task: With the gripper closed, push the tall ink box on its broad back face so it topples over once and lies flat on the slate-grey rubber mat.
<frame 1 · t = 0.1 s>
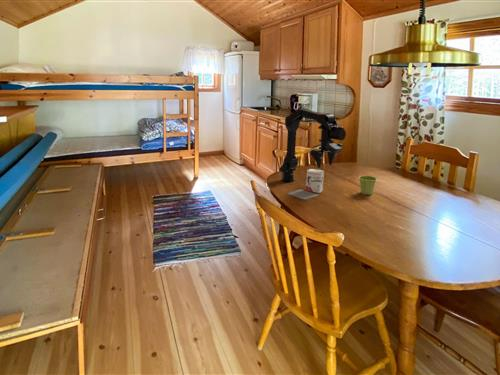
hand: (324, 166, 199), 14 cm above the table, tool pointing down, fingers open, 9 cm apart
ink box: (313, 191, 204), on the table, touching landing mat
plant pot: (366, 193, 200), on the table
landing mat: (302, 194, 199), on the table
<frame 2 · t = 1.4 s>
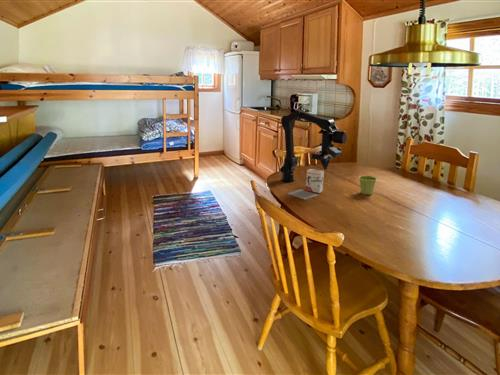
hand: (325, 169, 206), 11 cm above the table, tool pointing down, fingers closed
nothing on the table moved.
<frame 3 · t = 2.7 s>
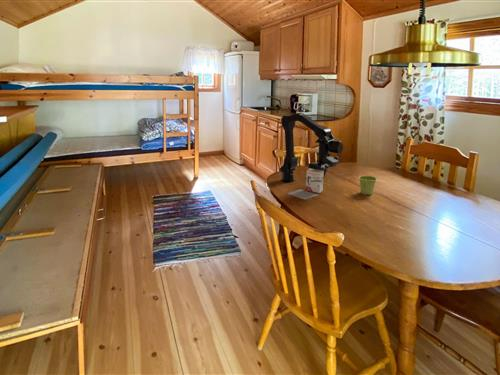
hand: (322, 178, 206), 6 cm above the table, tool pointing down, fingers closed
ink box: (313, 191, 204), on the table, touching gripper, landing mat
everything else where it was.
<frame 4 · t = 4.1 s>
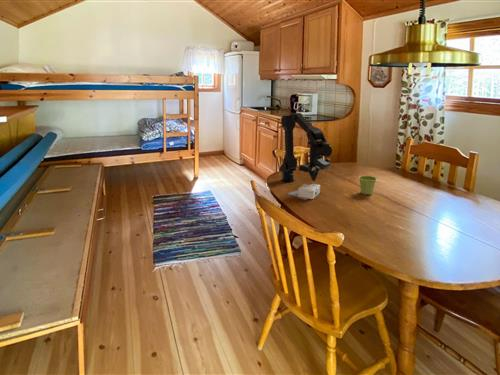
hand: (313, 181, 202), 6 cm above the table, tool pointing down, fingers closed
ink box: (312, 187, 202), point 3 cm above the table, touching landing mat
everything else where it was.
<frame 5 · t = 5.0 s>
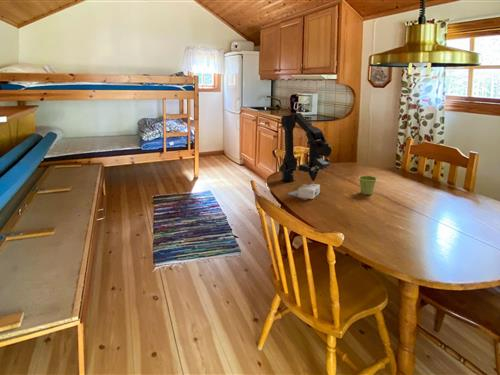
hand: (313, 180, 202), 6 cm above the table, tool pointing down, fingers closed
nothing on the table moved.
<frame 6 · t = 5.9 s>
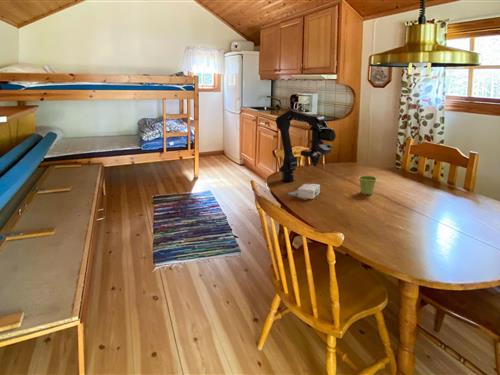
hand: (315, 166, 206), 13 cm above the table, tool pointing down, fingers closed
nothing on the table moved.
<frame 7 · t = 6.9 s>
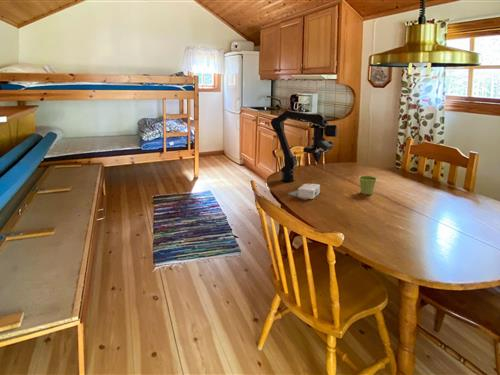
hand: (317, 162, 213), 13 cm above the table, tool pointing down, fingers closed
nothing on the table moved.
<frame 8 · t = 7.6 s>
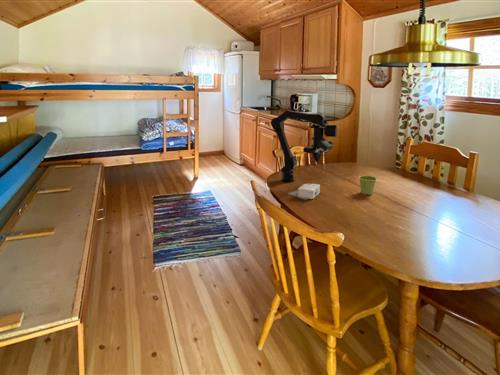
hand: (317, 162, 213), 13 cm above the table, tool pointing down, fingers closed
nothing on the table moved.
at the end: ink box tilted 90°; ink box inside the target area (0.8 cm from its centre), point 2.6 cm above the table; plant pot moved 0.2 cm from its start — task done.
